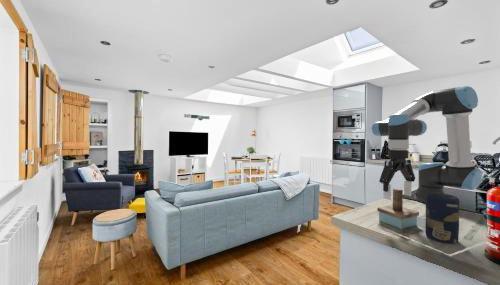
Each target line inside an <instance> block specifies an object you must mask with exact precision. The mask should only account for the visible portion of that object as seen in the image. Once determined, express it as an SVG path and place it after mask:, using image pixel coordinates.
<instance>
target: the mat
mask: <svg viewBox="0 0 500 285" xmlns="http://www.w3.org/2000/svg"><path fill="white" fill-rule="evenodd" d="M417 226H418V227H420V228H424V229H426V217H425V218H424V217H421V216H417Z"/></svg>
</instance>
